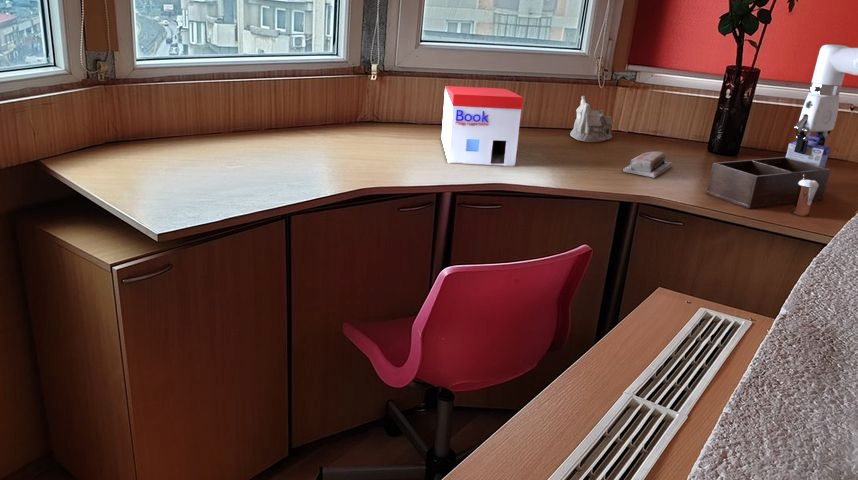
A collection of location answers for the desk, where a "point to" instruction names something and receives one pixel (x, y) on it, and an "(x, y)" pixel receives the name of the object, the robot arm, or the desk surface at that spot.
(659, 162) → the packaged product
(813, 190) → the milkshake
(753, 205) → the divided storage box
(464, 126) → the bookstore
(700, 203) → the desk surface
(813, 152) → the ink cartridge box
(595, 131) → the ceramic cottage
